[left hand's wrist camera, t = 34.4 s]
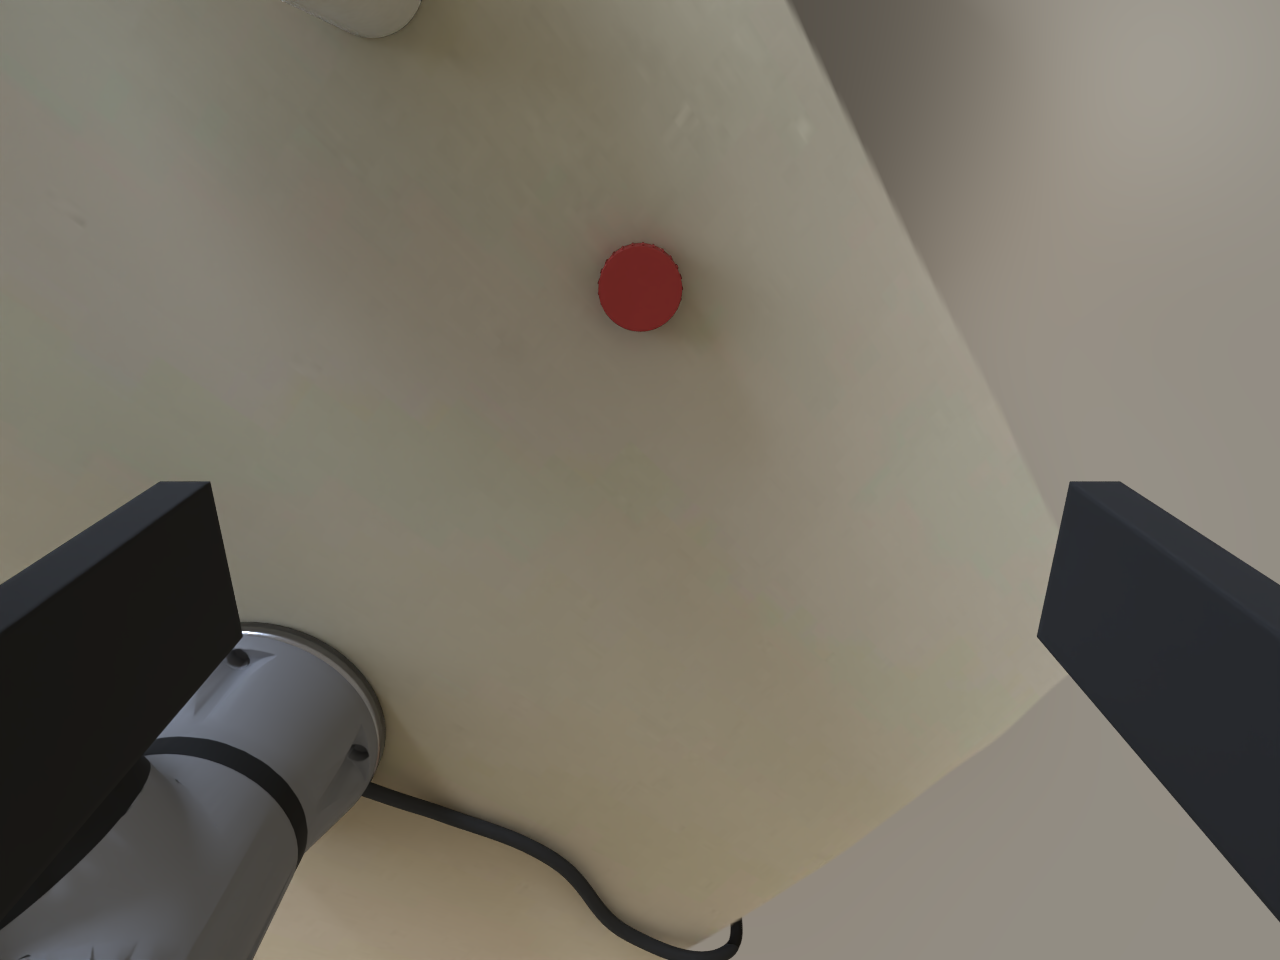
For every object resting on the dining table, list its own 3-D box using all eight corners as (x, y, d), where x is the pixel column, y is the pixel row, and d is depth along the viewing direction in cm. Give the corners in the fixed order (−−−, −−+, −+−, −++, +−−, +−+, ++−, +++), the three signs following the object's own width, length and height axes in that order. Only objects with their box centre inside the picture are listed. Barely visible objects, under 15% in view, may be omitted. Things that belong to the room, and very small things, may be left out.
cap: (594, 320, 43) (592, 326, 41) (603, 236, 41) (602, 239, 39) (674, 330, 43) (676, 337, 41) (686, 247, 41) (689, 251, 39)
